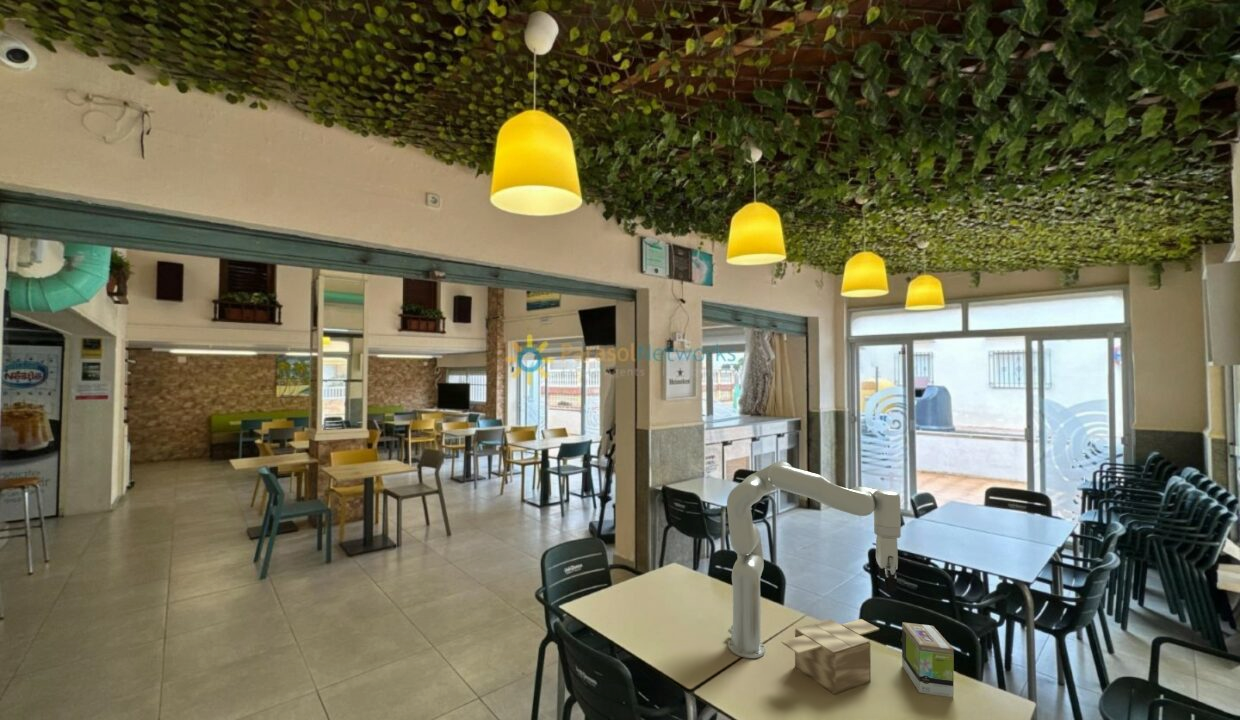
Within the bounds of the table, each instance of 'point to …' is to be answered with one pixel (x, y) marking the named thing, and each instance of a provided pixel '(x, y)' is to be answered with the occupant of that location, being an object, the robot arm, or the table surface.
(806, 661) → the carton
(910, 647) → the tea box
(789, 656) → the table surface
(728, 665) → the table surface
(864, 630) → the far flap
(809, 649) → the near flap
